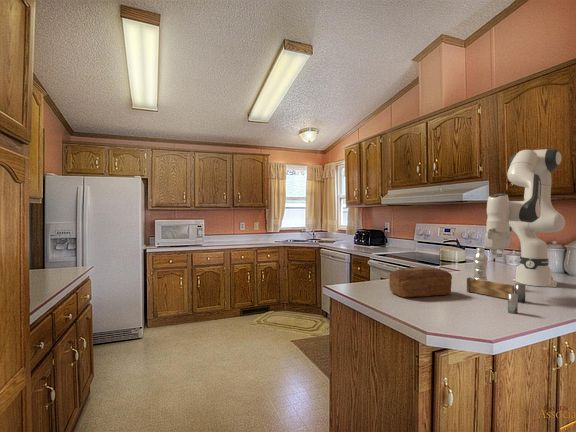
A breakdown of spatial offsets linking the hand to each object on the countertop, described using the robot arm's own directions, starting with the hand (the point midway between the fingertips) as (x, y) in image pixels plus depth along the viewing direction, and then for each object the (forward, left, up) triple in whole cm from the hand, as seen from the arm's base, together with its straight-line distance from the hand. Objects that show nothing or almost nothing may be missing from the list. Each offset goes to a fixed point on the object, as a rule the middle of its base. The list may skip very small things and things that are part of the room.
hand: (497, 257), depth 144 cm
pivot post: (+6, +11, -17) cm, 21 cm away
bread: (+29, -21, -18) cm, 40 cm away
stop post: (+26, +15, -17) cm, 34 cm away
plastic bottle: (-10, -11, -17) cm, 23 cm away
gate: (+7, -1, -17) cm, 18 cm away
